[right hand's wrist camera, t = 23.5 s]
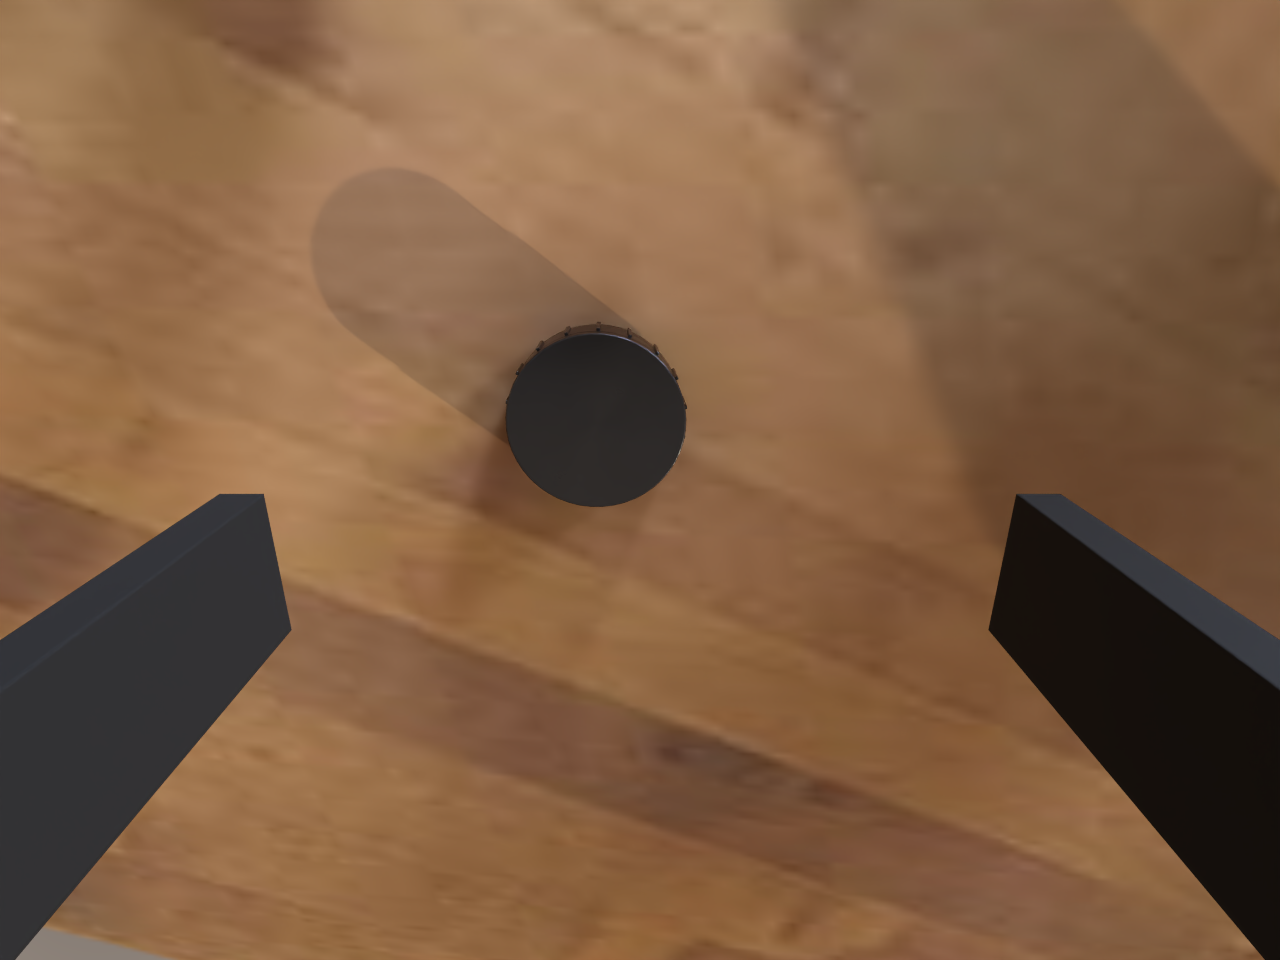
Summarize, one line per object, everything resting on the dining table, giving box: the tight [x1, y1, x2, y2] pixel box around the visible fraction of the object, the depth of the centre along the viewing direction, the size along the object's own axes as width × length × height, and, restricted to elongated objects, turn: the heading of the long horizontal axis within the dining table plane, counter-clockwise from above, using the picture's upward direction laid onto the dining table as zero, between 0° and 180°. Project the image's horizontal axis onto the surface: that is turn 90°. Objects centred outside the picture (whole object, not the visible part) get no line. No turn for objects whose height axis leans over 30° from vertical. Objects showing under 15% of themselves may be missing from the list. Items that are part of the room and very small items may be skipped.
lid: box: [506, 322, 687, 507], centre depth 22 cm, size 6×6×2 cm
